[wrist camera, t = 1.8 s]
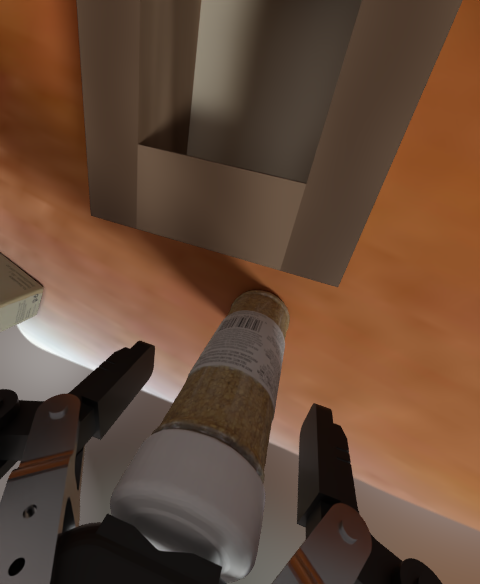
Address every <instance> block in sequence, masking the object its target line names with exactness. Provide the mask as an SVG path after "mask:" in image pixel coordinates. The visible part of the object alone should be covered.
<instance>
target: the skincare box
mask: <svg viewBox="0 0 480 584" xmlns="http://www.w3.org/2000/svg"><path fill="white" fill-rule="evenodd" d="M42 293H43V287H42V286H41V285H40V284H39V283H37V282H36V281H35V280H34V279H32V278H31V277H30V276H29V275H27V274H26V273H25V272H23V271H22V270H21V269H20V268H18V267H17V266H16V265H15V264H13V263H12V262H11V261H10V260H8V259H7V258H6V257H5V256H3V255H2V254H1V253H0V332H2V331H4V330H6V329H8V328H10V327H13V326H15V325H17V324H19V323H21V322H23V321H25V320H27V319H29V318H31V317H33V316H35V315H37V311H38V308H39V305H40V301H41V297H42Z"/></svg>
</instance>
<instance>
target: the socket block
mask: <svg viewBox="0 0 480 584" xmlns="http://www.w3.org/2000/svg"><path fill="white" fill-rule="evenodd" d="M461 3H462V0H77V15H78V30H79V45H80V60H81V75H82V90H83V105H84V120H85V135H86V150H87V165H88V180H89V195H90V210H91V216H94V217H98V218H101V219H104V220H108V221H111V222H115V223H118V224H122V225H125V226H129V227H132V228H135V229H139V230H142V231H146V232H149V233H153V234H156V235H160V236H163V237H166V238H170V239H173V240H177V241H180V242H184V243H187V244H191V245H194V246H197V247H201V248H204V249H208V250H211V251H215V252H218V253H222V254H225V255H228V256H232V257H235V258H239V259H242V260H246V261H249V262H253V263H256V264H259V265H263V266H266V267H270V268H273V269H277V270H280V271H284V272H287V273H290V274H294V275H297V276H301V277H304V278H308V279H311V280H315V281H318V282H321V283H325V284H328V285H332V286H335V287H338V286H339V284H340V282H341V279H342V277H343V275H344V272H345V270H346V268H347V265H348V263H349V261H350V258H351V256H352V254H353V252H354V249H355V247H356V245H357V242H358V240H359V238H360V235H361V233H362V231H363V228H364V226H365V224H366V222H367V219H368V217H369V215H370V212H371V210H372V208H373V205H374V203H375V201H376V199H377V196H378V194H379V192H380V189H381V187H382V185H383V182H384V180H385V178H386V175H387V173H388V171H389V169H390V166H391V164H392V162H393V159H394V157H395V155H396V152H397V150H398V148H399V146H400V143H401V141H402V139H403V136H404V134H405V132H406V129H407V127H408V125H409V122H410V120H411V118H412V116H413V113H414V111H415V109H416V106H417V104H418V102H419V99H420V97H421V95H422V92H423V90H424V88H425V86H426V83H427V81H428V79H429V76H430V74H431V72H432V69H433V67H434V65H435V63H436V60H437V58H438V56H439V53H440V51H441V49H442V46H443V44H444V42H445V39H446V37H447V35H448V33H449V30H450V28H451V26H452V23H453V21H454V19H455V16H456V14H457V12H458V10H459V7H460V5H461Z"/></svg>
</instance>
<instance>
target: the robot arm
mask: <svg viewBox="0 0 480 584" xmlns="http://www.w3.org/2000/svg"><path fill="white" fill-rule="evenodd" d="M154 355H155V346H154V345H151V344H148V343H145V342H142V341H138V342H137V343H136V344H135V345H134V346H133V347H132V348H131V349H129V348H126V347H125V348H123V349H121V350H119V351H116V352H114V353H113V354H112V355H111V356H110V357H109V358H108V359H107V360H106V361H104V362H103V363H102V364H101V365H100V366H99V368H96V369H95V370H94V371H93V372H92V373H91V374H90V375H89V376H87V377H86V378H85V379H84V380H83V381H82V382H81V383H80V384H79V385H78V386H76V387H75V388H74V389H73V390H72V391H71V392H69V393H68V394H60V395H56V396H54V397H51V398H49V399H48V400H46V401H23V400H18V396H17V394H16V393H15V392H14V391H12V390H7V389H1V390H0V479H1V478H2V477H3V476H4V475H5V474H6V473H7V472H8V471H9V469H10V468H11V467H12V466H13V465H14V464H15V463H16V462H17V461H18V460H19V461H21V463H20V465H19V467H18V468H17V469H14V470H13V471H12V472H11V474H10V476H9V478H8V481H7V484H6V487H5V490H4V493H3V496H2V500H1V502H0V584H226V582H225V581H224V580H223V579H222V578H221V577H220V575H221V570H222V566H220V565H217V564H215V563H213V562H211V561H209V560H207V559H204V558H202V557H200V556H198V555H196V554H194V553H184V552H170V551H160V550H158V549H156V548H155V547H154V546H153V545H152V544H151V543H150V542H149V541H148V540H147V539H146V538H145V537H144V536H143V534H142V533H141V532H140V531H139V530H138V529H137V528H136V527H135V526H133V525H131V524H129V523H127V522H124V521H122V520H120V519H118V518H116V517H114V516H112V515H109V514H107V515H106V517H105V518H104V520H103V522H102V523H100V522H97V523H89V524H85V525H81V526H79V521H80V493H81V484H82V474H83V465H84V456H85V445H86V443H87V442H88V441H89V440H90V439H91V437H92V436H93V437H95V438H98V439H100V440H101V439H102V438H103V436H104V435H105V434H106V433H107V431H108V430H109V429H110V427H111V426H112V425H113V424H114V422H115V421H116V420H117V419H118V417H119V416H120V415H121V414H122V412H123V411H124V410H125V409H126V407H127V406H128V405H129V404H130V402H131V401H132V400H133V399H134V397H135V396H136V395H137V394H138V392H139V391H140V390H141V389H142V387H143V386H144V385H145V384H146V382H147V381H148V380H149V378H150V376H151V374H152V372H153V368H154ZM298 477H299V478H298V508H297V509H298V510H297V524H299V525H301V526H303V527H306V540H305V541H304V543H303V544H302V545H301V546H300V548H299V549H298V550H297V551H296V553H295V554H294V555H293V557H292V558H291V559H290V561H289V562H288V563H287V564H286V566H285V567H284V568H283V570H282V571H281V572H280V574H279V575H278V576H277V577H276V579H275V580H274V581H273V583H272V584H442V583H441V581H440V580H439V579H438V577H437V576H436V575H435V574H434V573H433V571H432V570H430V568H428V567H427V566H426V565H425V564H423V563H422V562H420V561H418V560H416V559H412V558H409V559H406V560H404V561H402V560H400V559H399V558H398V557H396V556H395V555H394V554H393V553H392V552H390V551H389V550H388V549H387V548H385V547H384V546H383V545H382V544H380V543H379V542H378V541H377V540H376V539H375V538H374V537H373V536H372V535H371V533H370V532H369V529H368V527H367V525H366V523H365V521H364V520H363V518H362V517H361V516H360V514H359V511H358V507H357V501H356V495H355V488H354V481H353V475H352V468H351V465H350V455H349V448H348V442H347V438H346V436H345V434H344V432H343V430H342V428H341V426H340V425H337V424H334V423H333V417H332V411H331V409H329V408H326V407H323V406H321V405H318V404H315V403H314V404H313V405H312V407H311V409H310V411H309V413H308V415H307V417H306V418H305V420H304V422H303V425H302V427H301V432H300V442H299V476H298Z"/></svg>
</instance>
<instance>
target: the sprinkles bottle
mask: <svg viewBox="0 0 480 584" xmlns="http://www.w3.org/2000/svg"><path fill="white" fill-rule="evenodd" d="M288 325H289V313H288V310H287V307H286V306H285V304H284V303H283V302H282V301H281V300H280V299H279V298H278V297H277V296H275V295H274V294H272V293H270V292H266V291H261V290H258V291H257V290H253V291H248V292H245V293H243V294H242V295H240V296H239V297H238V298H236V300H235V301H234V302H233V304H232V306H231V309H230V312H229V314H228V315H227V317H226V318H225V319H224V320H223V321H222V322H221V324H220V326H219V327H218V329H217V330H216V332H215V333H214V335H213V337H212V338H211V340H210V341H209V343H208V344H207V346H206V347H205V349H204V351H203V352H202V354H201V355H200V357H199V359H198V360H197V362H196V363H195V365H194V367H193V368H192V370H191V371H190V373H189V375H188V378H187V380H186V383H185V384H184V386H183V388H182V390H181V391H180V393H179V394H178V396H177V398H176V399H175V401H174V402H173V404H172V406H171V408H170V410H169V411H168V413H167V414H166V416H165V418H164V420H163V421H162V423H161V425H160V426H159V427H158V428H157V429H156V430H154V431H153V433H152V434H151V436H149V437H148V438H147V439H146V440H145V441H144V442H143V443H142V445H141V446H140V448H139V449H138V451H137V453H136V454H135V456H134V457H133V459H132V460H131V462H130V464H129V465H128V467H127V469H126V470H125V472H124V474H123V475H122V477H121V479H120V480H119V482H118V484H117V486H116V487H115V489H114V491H113V493H112V496H111V501H110V509H111V514H112V516H114V517H116V518H118V519H120V520H122V521H124V522H127V523H129V524H131V525H133V526H135V527H136V528H137V529H138V530H139V531H140V532H141V533H142V534H143V536H144V537H145V538H146V539H147V540H148V541H149V542H150V543H151V544H152V545H153V546H154V547H155V548H156V549H158V550H160V551H170V552H184V553H194V554H196V555H198V556H200V557H202V558H204V559H207V560H209V561H211V562H213V563H215V564H217V565H220V566H222V570H221V575H220V577H221V578H222V579H223V580H224V581H225V582H226V583H227V582H228V583H229V582H235V581H238V580H240V579H242V578H244V577H246V576H247V575H248V574H249V573H250V571H251V570H252V568H253V566H254V564H255V560H256V556H257V551H258V545H259V539H260V533H261V526H262V519H263V512H264V505H265V489H264V486H263V483H264V476H265V475H264V466H265V463H266V456H267V447H268V443H269V435H270V430H271V423H272V421H273V418H274V413H275V406H276V399H277V392H278V386H279V380H280V373H281V367H282V361H283V355H284V349H285V337H286V331H287V329H288Z"/></svg>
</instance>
